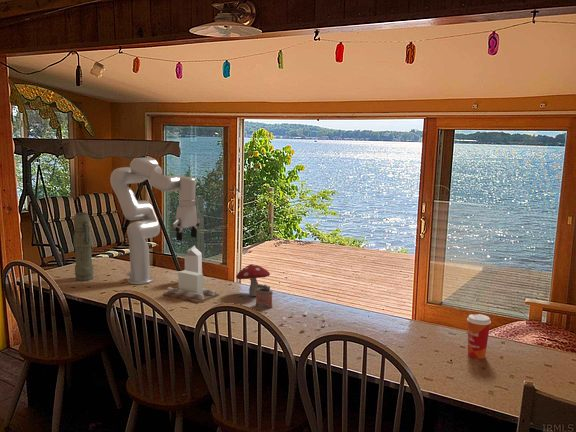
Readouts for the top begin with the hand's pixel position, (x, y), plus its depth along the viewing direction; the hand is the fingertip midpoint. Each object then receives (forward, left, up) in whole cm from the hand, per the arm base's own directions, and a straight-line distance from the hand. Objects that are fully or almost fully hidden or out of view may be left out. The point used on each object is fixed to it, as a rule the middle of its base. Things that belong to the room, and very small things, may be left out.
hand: (186, 238), depth 238 cm
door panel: (+5, -3, -25) cm, 26 cm away
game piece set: (+68, -4, -27) cm, 73 cm away
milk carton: (-9, +14, -27) cm, 31 cm away
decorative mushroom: (+29, +14, -27) cm, 42 cm away
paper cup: (+134, +1, -27) cm, 137 cm away
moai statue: (-61, -13, -27) cm, 68 cm away
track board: (+5, -3, -26) cm, 27 cm away
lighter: (+43, +3, -27) cm, 51 cm away
